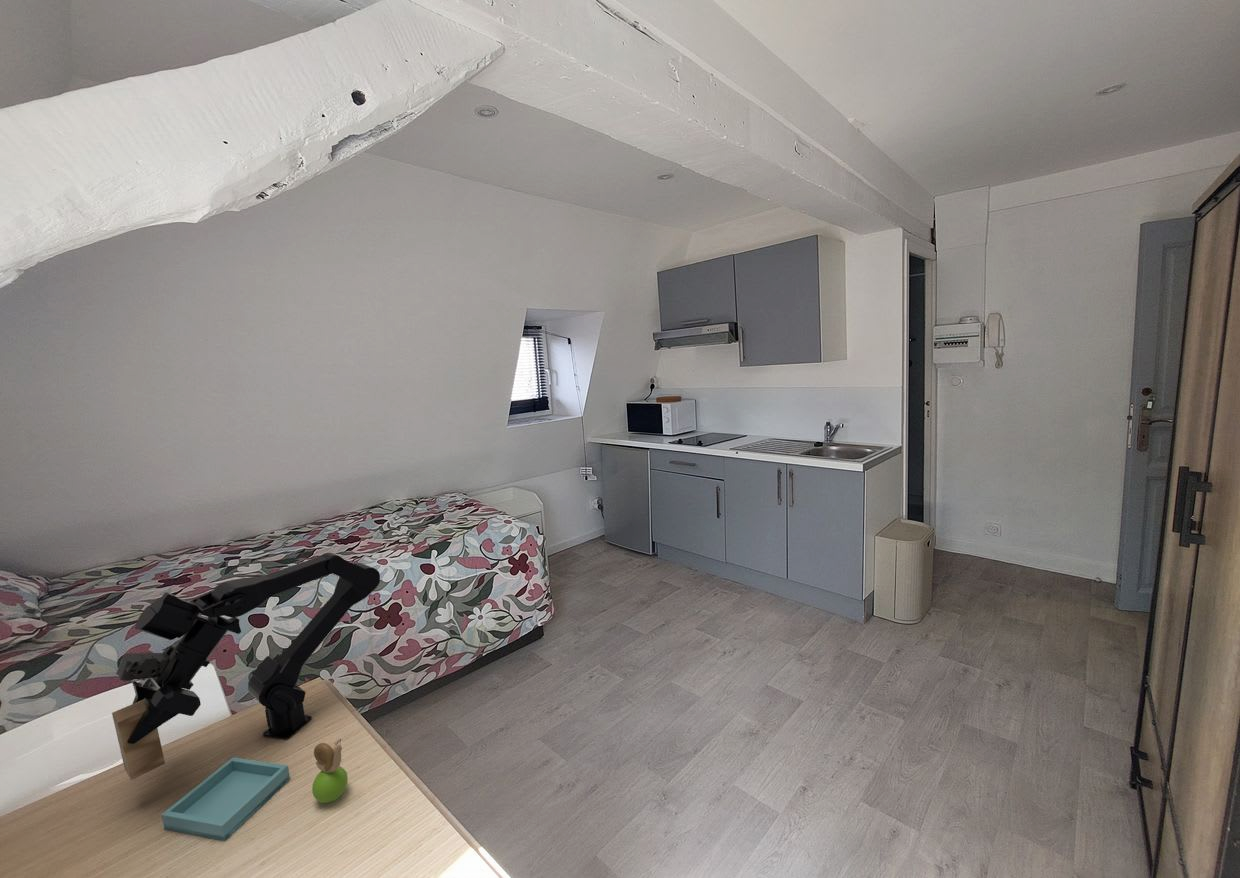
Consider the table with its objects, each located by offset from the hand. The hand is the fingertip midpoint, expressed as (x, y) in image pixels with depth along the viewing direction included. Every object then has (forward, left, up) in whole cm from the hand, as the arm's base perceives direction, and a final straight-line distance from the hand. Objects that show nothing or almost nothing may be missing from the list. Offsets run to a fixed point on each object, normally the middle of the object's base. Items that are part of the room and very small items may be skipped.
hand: (126, 737), depth 89 cm
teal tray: (-15, -3, -13) cm, 21 cm away
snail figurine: (-33, -7, -14) cm, 37 cm away
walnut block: (-1, -1, -7) cm, 7 cm away
